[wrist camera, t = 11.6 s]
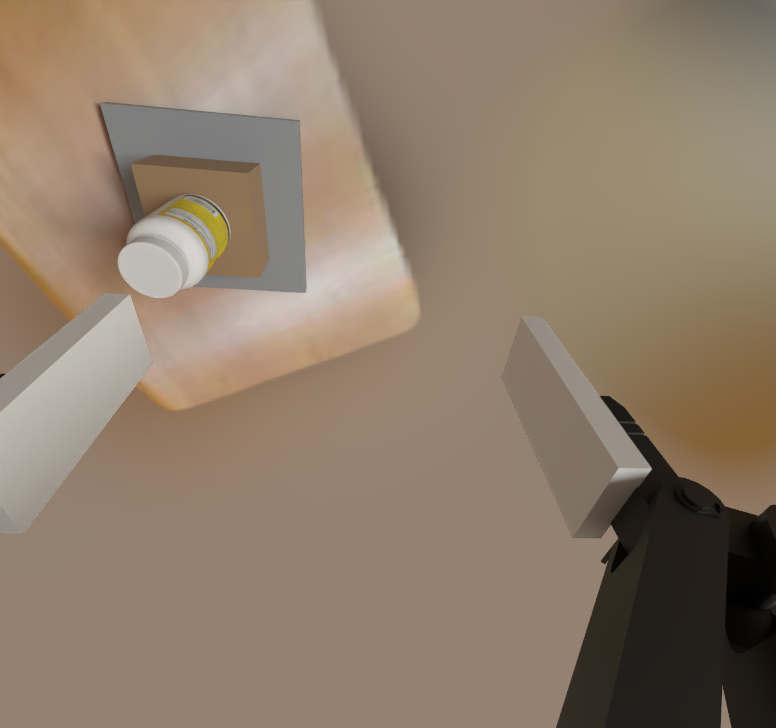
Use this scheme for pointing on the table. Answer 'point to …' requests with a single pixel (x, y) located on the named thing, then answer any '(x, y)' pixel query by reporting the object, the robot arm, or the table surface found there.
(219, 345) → the table surface
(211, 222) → the supplement bottle
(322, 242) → the table surface
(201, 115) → the base
